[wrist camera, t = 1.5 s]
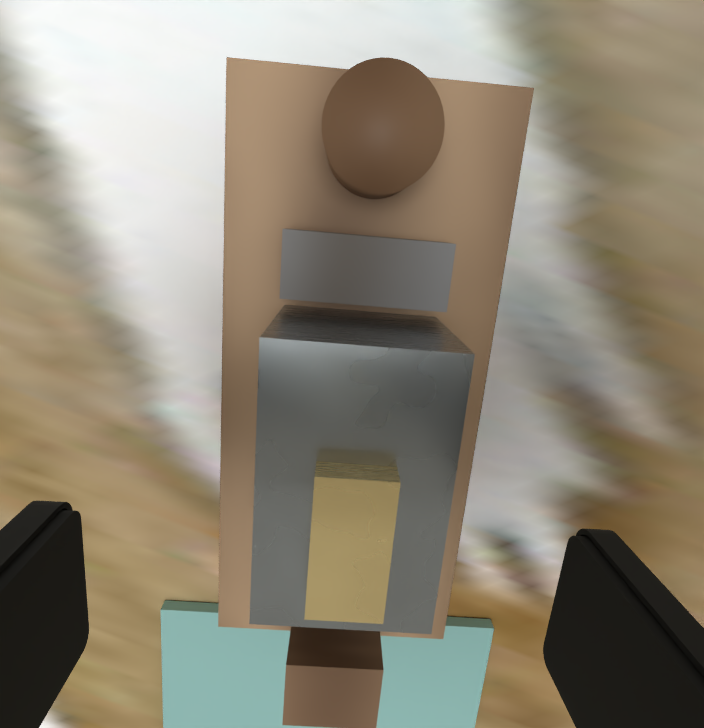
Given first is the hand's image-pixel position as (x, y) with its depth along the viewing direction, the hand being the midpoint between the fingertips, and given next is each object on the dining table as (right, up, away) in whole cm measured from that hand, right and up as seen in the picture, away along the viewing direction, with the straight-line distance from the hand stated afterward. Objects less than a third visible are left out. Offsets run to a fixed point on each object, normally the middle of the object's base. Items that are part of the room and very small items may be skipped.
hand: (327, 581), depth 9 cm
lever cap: (0, +2, +8) cm, 8 cm away
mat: (-1, -13, +16) cm, 21 cm away
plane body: (0, +4, +11) cm, 12 cm away
